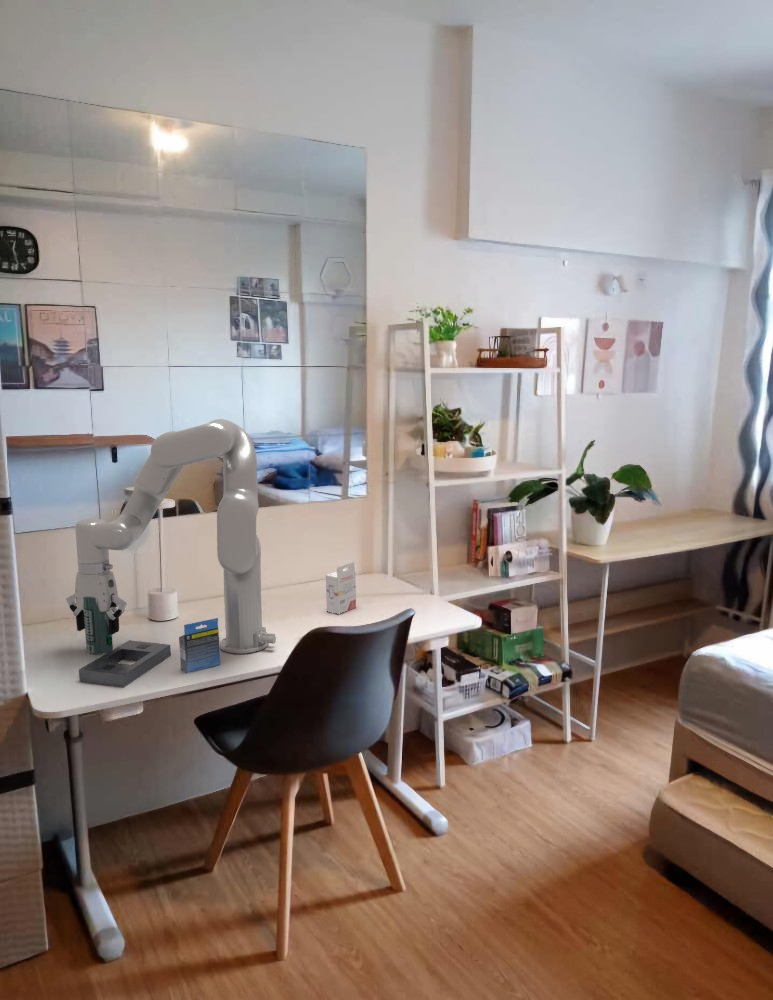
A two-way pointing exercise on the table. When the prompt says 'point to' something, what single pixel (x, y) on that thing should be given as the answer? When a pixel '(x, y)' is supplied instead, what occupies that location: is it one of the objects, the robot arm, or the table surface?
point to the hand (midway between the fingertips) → (98, 631)
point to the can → (96, 628)
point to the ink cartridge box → (341, 589)
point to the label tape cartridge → (199, 646)
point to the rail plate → (119, 674)
